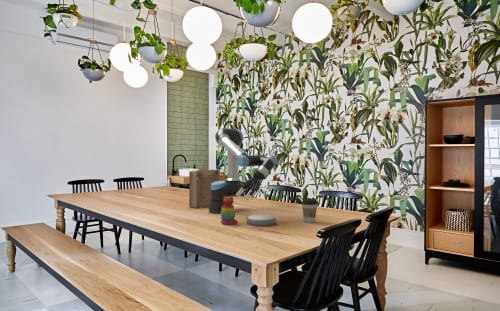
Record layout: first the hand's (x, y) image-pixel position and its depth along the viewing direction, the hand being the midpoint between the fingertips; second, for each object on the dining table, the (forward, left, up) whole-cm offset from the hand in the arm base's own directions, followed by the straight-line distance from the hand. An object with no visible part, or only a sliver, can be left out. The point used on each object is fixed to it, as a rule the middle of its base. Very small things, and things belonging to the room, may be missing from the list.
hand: (241, 197), depth 233 cm
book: (-61, +34, -17) cm, 72 cm away
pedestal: (+13, +4, -17) cm, 21 cm away
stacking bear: (-5, -8, -17) cm, 19 cm away
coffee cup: (+38, +26, -17) cm, 49 cm away
